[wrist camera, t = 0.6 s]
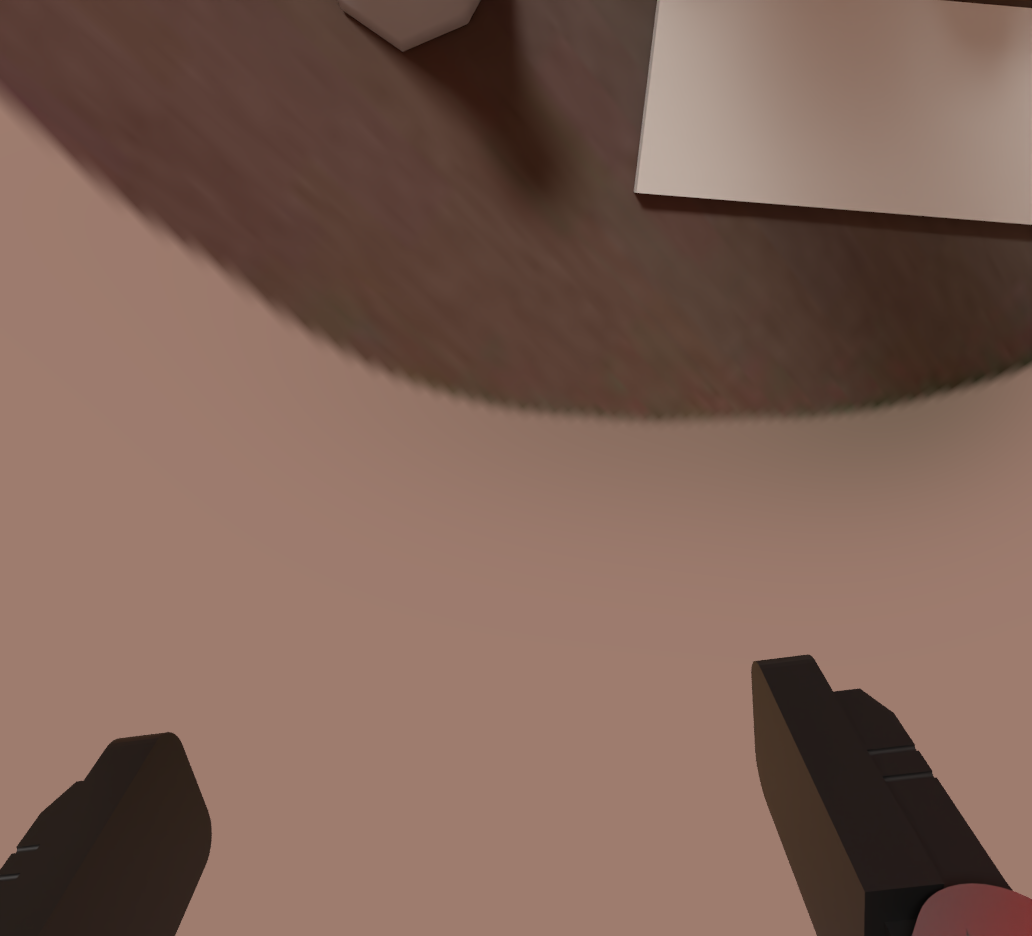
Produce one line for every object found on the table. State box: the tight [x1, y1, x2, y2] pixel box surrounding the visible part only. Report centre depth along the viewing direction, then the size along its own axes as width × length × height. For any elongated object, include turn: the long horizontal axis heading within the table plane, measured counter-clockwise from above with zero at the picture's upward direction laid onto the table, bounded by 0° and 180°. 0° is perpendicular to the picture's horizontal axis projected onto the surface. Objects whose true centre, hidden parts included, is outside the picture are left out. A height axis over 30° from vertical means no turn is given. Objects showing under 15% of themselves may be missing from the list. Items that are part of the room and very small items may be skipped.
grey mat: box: [634, 0, 1032, 225], centre depth 33 cm, size 8×21×1 cm, turn 86°
